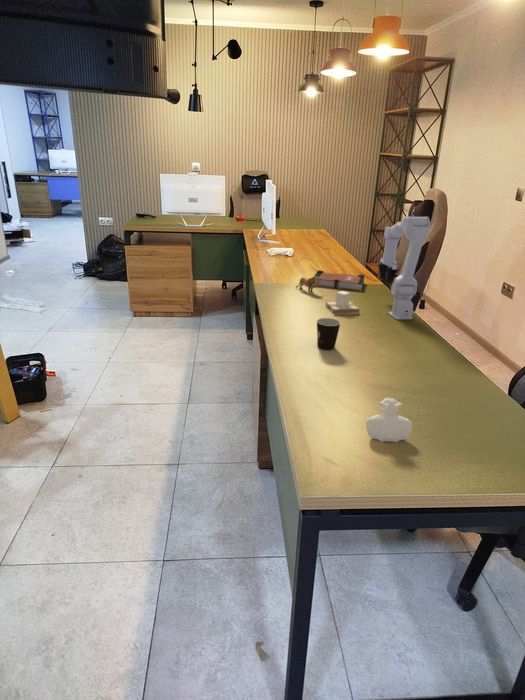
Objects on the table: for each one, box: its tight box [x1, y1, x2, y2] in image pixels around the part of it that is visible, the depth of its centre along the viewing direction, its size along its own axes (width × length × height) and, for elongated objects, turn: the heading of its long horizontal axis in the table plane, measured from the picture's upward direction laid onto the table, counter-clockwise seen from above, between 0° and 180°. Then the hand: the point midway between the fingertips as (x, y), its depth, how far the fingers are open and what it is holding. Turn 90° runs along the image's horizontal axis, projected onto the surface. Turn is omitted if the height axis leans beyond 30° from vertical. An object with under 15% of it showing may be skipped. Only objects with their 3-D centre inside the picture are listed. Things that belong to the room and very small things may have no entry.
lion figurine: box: [295, 275, 320, 293], centre depth 246 cm, size 15×5×9 cm, turn 48°
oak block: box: [324, 300, 361, 316], centre depth 220 cm, size 12×12×3 cm
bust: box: [365, 397, 413, 443], centre depth 124 cm, size 12×8×11 cm
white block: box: [335, 290, 351, 307], centre depth 219 cm, size 4×4×6 cm
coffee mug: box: [316, 317, 341, 351], centre depth 179 cm, size 12×9×10 cm
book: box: [313, 269, 365, 292], centre depth 262 cm, size 26×18×5 cm
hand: (385, 280), depth 233 cm, fingers open, 7 cm apart
